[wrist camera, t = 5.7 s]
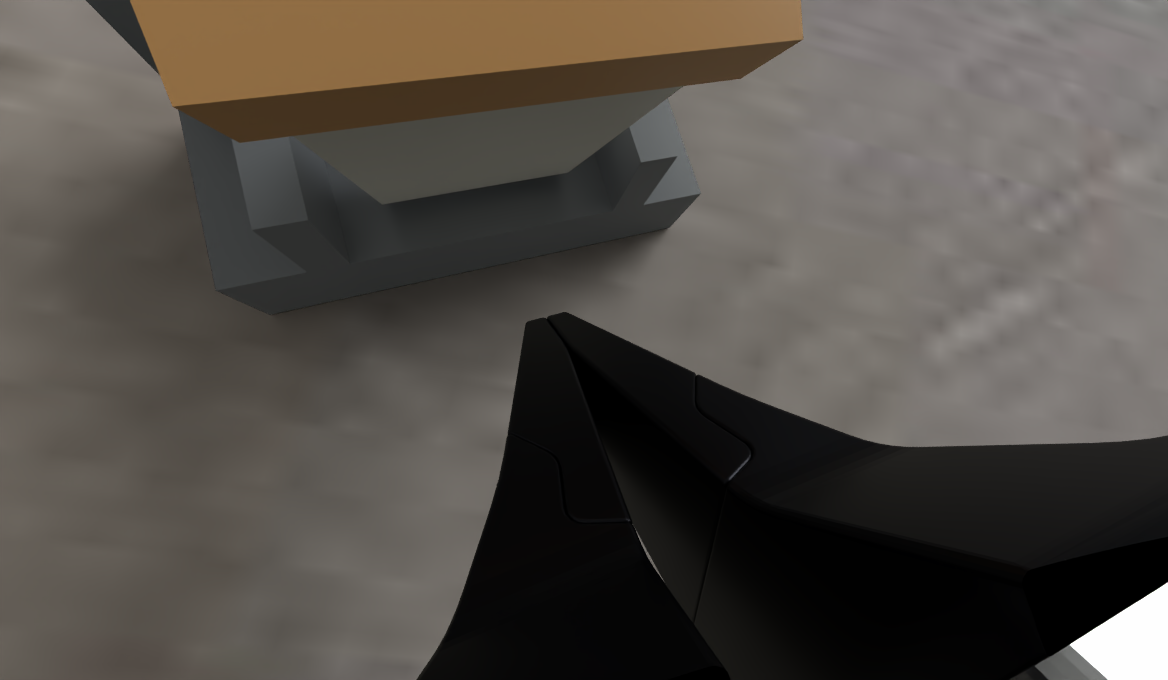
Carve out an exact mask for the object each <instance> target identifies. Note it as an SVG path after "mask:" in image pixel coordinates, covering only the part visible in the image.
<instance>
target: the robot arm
mask: <svg viewBox="0 0 1168 680" xmlns="http://www.w3.org/2000/svg"><path fill="white" fill-rule="evenodd" d="M632 523H633V525H634V526H633V525H632ZM634 527H635V528H634ZM635 529H636V530H635ZM636 531H637V532H638V534H639V536H640V538H641V540H642V542H643V544H644V545H645V547H646V549H647V551H648V553H649V555H650V556H651V558H652V560H653V562H654V564H655V566H656V567H657V569H658V571H659V573H660V575H661V577H662V578H663V580H664V581H663V580H662V579H661V577H660V576H659V574H658V573H657V572H656V570H655V569H654V567H653V566H652V564H651V562H650V561H649V559H648V557H647V555H646V553H645V551H644V549H643V547H642V545H641V542H640V540H639V538H638V535H637V533H636ZM664 582H665V583H664ZM417 680H1168V436H1162V437H1157V438H1151V439H1142V440H1132V441H1122V442H1102V443H1070V444H1028V445H985V446H943V447H902V446H891V445H885V444H879V443H875V442H871V441H867V440H863V439H860V438H857V437H854V436H851V435H848V434H845V433H843V432H840V431H837V430H835V429H832V428H829V427H827V426H824V425H821V424H819V423H816V422H813V421H810V420H808V419H805V418H802V417H800V416H797V415H794V414H792V413H789V412H786V411H784V410H781V409H778V408H776V407H773V406H771V405H768V404H765V403H763V402H760V401H758V400H755V399H753V398H750V397H748V396H745V395H743V394H740V393H738V392H736V391H734V390H731V389H729V388H727V387H725V386H722V385H720V384H718V383H716V382H714V381H711V380H709V379H707V378H705V377H703V376H701V375H697V376H696V374H695V373H694V372H692V371H690V370H688V369H686V368H684V367H681V366H679V365H677V364H675V363H673V362H671V361H669V360H667V359H665V358H662V357H660V356H658V355H656V354H654V353H652V352H650V351H648V350H646V349H643V348H641V347H639V346H637V345H635V344H633V343H631V342H629V341H626V340H624V339H622V338H620V337H618V336H616V335H614V334H612V333H610V332H607V331H605V330H603V329H601V328H599V327H597V326H595V325H593V324H591V323H588V322H586V321H584V320H582V319H580V318H578V317H576V316H574V315H572V314H569V313H567V312H563V313H559V314H555V315H551V316H548V317H547V319H546V318H539V319H535V320H531V321H528V322H527V323H526V325H525V331H524V337H523V343H522V349H521V355H520V361H519V367H518V373H517V379H516V386H515V392H514V398H513V404H512V410H511V416H510V422H509V428H508V436H507V439H506V445H505V451H504V456H503V461H502V466H501V471H500V475H499V480H498V483H497V487H496V490H495V494H494V497H493V501H492V504H491V507H490V511H489V514H488V517H487V520H486V523H485V526H484V529H483V532H482V535H481V538H480V541H479V544H478V547H477V550H476V553H475V556H474V559H473V562H472V565H471V568H470V571H469V574H468V577H467V580H466V584H465V587H464V590H463V592H462V595H461V598H460V601H459V604H458V606H457V609H456V611H455V614H454V616H453V619H452V621H451V623H450V625H449V627H448V630H447V632H446V634H445V636H444V638H443V639H442V641H441V643H440V645H439V647H438V648H437V650H436V651H435V653H434V655H433V656H432V658H431V659H430V661H429V662H428V664H427V665H426V666H425V668H424V669H423V671H422V672H421V674H420V675H419V677H418V678H417Z"/></svg>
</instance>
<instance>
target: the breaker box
mask: <svg viewBox="0 0 1168 680" xmlns="http://www.w3.org/2000/svg"><path fill="white" fill-rule="evenodd" d="M86 1H87V2H88V3H89V4H90V5H91V6H92V7H93V8H94V9H95V10H96V11H97V12H98V13H99V14H100V15H101V16H102V17H103V18H104V19H105V20H106V21H107V22H108V23H109V24H110V25H111V26H112V27H113V28H114V29H115V30H116V31H117V32H118V33H119V34H120V35H121V36H122V37H123V38H124V39H125V40H126V41H127V43H128V44H129V45H130V46H131V47H132V48H133V49H134V50H135V51H136V52H137V53H138V54H139V55H140V56H141V57H142V58H143V59H144V60H145V61H146V62H147V63H148V64H149V65H150V66H151V67H152V68H153V69H154V70H155V71H156V72H157V73H158V74H159V72H158V69H157V67H156V64H155V62H154V59H153V57H152V54H151V52H150V49H149V47H148V44H147V42H146V39H145V37H144V34H143V32H142V29H141V27H140V24H139V22H138V19H137V17H136V14H135V12H134V9H133V7H132V4H131V2H130V0H86ZM159 75H160V74H159ZM178 111H179V115H180V120H181V125H182V130H183V135H184V139H185V144H186V149H187V154H188V159H189V164H190V168H191V173H192V178H193V183H194V188H195V193H196V197H197V202H198V207H199V212H200V217H201V222H202V226H203V231H204V236H205V241H206V246H207V250H208V255H209V260H210V265H211V270H212V275H213V279H214V284H215V289H216V291H218V292H220V293H222V294H225V295H227V296H229V297H231V298H233V299H236V300H238V301H240V302H242V303H245V304H247V305H249V306H251V307H254V308H256V309H258V310H260V311H263V312H265V313H267V314H269V315H271V314H276V313H280V312H285V311H289V310H294V309H298V308H303V307H308V306H312V305H317V304H321V303H326V302H330V301H335V300H340V299H344V298H349V297H353V296H358V295H363V294H367V293H372V292H376V291H381V290H385V289H390V288H395V287H399V286H404V285H408V284H413V283H418V282H422V281H427V280H431V279H436V278H440V277H445V276H450V275H454V274H459V273H463V272H468V271H473V270H477V269H482V268H486V267H491V266H495V265H500V264H505V263H509V262H514V261H518V260H523V259H527V258H532V257H537V256H541V255H546V254H550V253H555V252H560V251H564V250H569V249H573V248H578V247H582V246H587V245H592V244H596V243H601V242H605V241H610V240H615V239H619V238H624V237H628V236H633V235H637V234H642V233H647V232H651V231H656V230H660V229H665V228H670V226H671V225H672V224H673V223H674V222H675V221H676V220H677V219H678V218H679V217H680V216H681V214H682V213H683V212H684V211H685V210H686V209H687V208H688V207H689V206H690V205H691V204H692V203H693V201H694V200H695V199H696V198H697V197H698V196H699V195H700V194H701V192H700V189H699V186H698V184H697V181H696V178H695V175H694V172H693V169H692V167H691V164H690V161H689V158H688V155H687V152H686V149H685V147H684V144H683V141H682V138H681V135H680V132H679V130H678V127H677V124H676V121H675V118H674V115H673V112H672V110H671V107H670V104H669V101H668V98H667V99H666V100H664V101H663V102H662V103H660V104H659V105H658V106H656V107H655V108H654V109H652V110H651V111H650V112H648V113H647V114H646V115H644V116H643V117H642V118H640V119H639V120H638V121H636V122H635V123H634V124H632V125H631V126H630V127H628V128H627V129H626V130H624V131H623V132H622V133H620V134H619V135H618V136H616V137H615V138H614V139H612V140H611V141H610V142H608V143H607V144H606V145H604V146H603V147H602V148H600V149H599V150H598V151H596V152H595V153H594V154H592V155H591V156H590V157H588V158H587V159H586V160H584V161H583V162H582V163H580V164H579V165H578V166H576V167H575V168H574V169H572V170H571V171H570V172H568V173H563V174H557V175H552V176H546V177H540V178H534V179H528V180H522V181H517V182H511V183H505V184H499V185H493V186H487V187H482V188H476V189H470V190H464V191H458V192H453V193H447V194H441V195H435V196H429V197H423V198H418V199H412V200H406V201H400V202H394V203H389V204H383V205H382V204H381V203H379V202H378V201H377V200H375V199H374V198H373V197H372V196H370V195H369V194H368V193H366V192H365V191H364V190H362V189H361V188H360V187H358V186H357V185H356V184H355V183H353V182H352V181H351V180H349V179H348V178H347V177H345V176H344V175H343V174H342V173H340V172H339V171H338V170H336V169H335V168H334V167H332V166H331V165H330V164H329V163H327V162H326V161H325V160H323V159H322V158H321V157H319V156H318V155H317V154H315V153H314V152H313V151H312V150H310V149H309V148H308V147H306V146H305V145H304V144H302V143H301V142H300V141H299V140H297V139H296V138H295V137H293V136H290V137H282V138H275V139H267V140H259V141H251V142H243V143H239V142H237V141H235V140H233V139H231V138H230V137H228V136H226V135H224V134H222V133H220V132H218V131H217V130H215V129H213V128H211V127H209V126H207V125H206V124H204V123H202V122H200V121H198V120H196V119H195V118H193V117H191V116H189V115H187V114H185V113H184V112H182V111H180V110H178Z"/></svg>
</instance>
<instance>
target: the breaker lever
mask: <svg viewBox="0 0 1168 680" xmlns="http://www.w3.org/2000/svg"><path fill="white" fill-rule="evenodd" d="M130 2H131V4H132V7H133V9H134V12H135V14H136V17H137V19H138V22H139V24H140V27H141V29H142V32H143V34H144V37H145V39H146V42H147V44H148V47H149V49H150V52H151V54H152V57H153V59H154V62H155V64H156V67H157V69H158V72H159V74H160V76H161V79H162V81H163V84H164V86H165V89H166V91H167V94H168V96H169V99H170V101H171V104H172V106H173V107H174V108H176V109H178V110H180V111H182V112H184V113H185V114H187V115H189V116H191V117H193V118H195V119H196V120H198V121H200V122H202V123H204V124H206V125H207V126H209V127H211V128H213V129H215V130H217V131H218V132H220V133H222V134H224V135H226V136H228V137H230V138H231V139H233V140H235V141H237V142H239V143H243V142H251V141H259V140H267V139H275V138H282V137H290V136H293V137H295V138H296V139H297V140H299V141H300V142H301V143H302V144H304V145H305V146H306V147H308V148H309V149H310V150H312V151H313V152H314V153H315V154H317V155H318V156H319V157H321V158H322V159H323V160H325V161H326V162H327V163H329V164H330V165H331V166H332V167H334V168H335V169H336V170H338V171H339V172H340V173H342V174H343V175H344V176H345V177H347V178H348V179H349V180H351V181H352V182H353V183H355V184H356V185H357V186H358V187H360V188H361V189H362V190H364V191H365V192H366V193H368V194H369V195H370V196H372V197H373V198H374V199H375V200H377V201H378V202H379V203H381V204H382V205H383V204H389V203H394V202H400V201H406V200H412V199H418V198H423V197H429V196H435V195H441V194H447V193H453V192H458V191H464V190H470V189H476V188H482V187H487V186H493V185H499V184H505V183H511V182H517V181H522V180H528V179H534V178H540V177H546V176H552V175H557V174H563V173H568V172H570V171H571V170H572V169H574V168H575V167H576V166H578V165H579V164H580V163H582V162H583V161H584V160H586V159H587V158H588V157H590V156H591V155H592V154H594V153H595V152H596V151H598V150H599V149H600V148H602V147H603V146H604V145H606V144H607V143H608V142H610V141H611V140H612V139H614V138H615V137H616V136H618V135H619V134H620V133H622V132H623V131H624V130H626V129H627V128H628V127H630V126H631V125H632V124H634V123H635V122H636V121H638V120H639V119H640V118H642V117H643V116H644V115H646V114H647V113H648V112H650V111H651V110H652V109H654V108H655V107H656V106H658V105H659V104H660V103H662V102H663V101H664V100H666V99H667V98H668V97H670V96H671V95H672V94H674V93H675V92H676V91H678V90H679V89H680V88H682V87H683V86H687V85H695V84H703V83H710V82H718V81H726V80H734V79H741V78H742V77H744V76H746V75H747V74H749V73H750V72H752V71H754V70H755V69H757V68H758V67H760V66H761V65H763V64H765V63H766V62H768V61H769V60H771V59H773V58H774V57H776V56H777V55H779V54H781V53H782V52H784V51H785V50H787V49H789V48H790V47H792V46H793V45H795V44H797V43H798V42H800V41H801V40H803V28H802V13H801V0H130Z"/></svg>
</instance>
